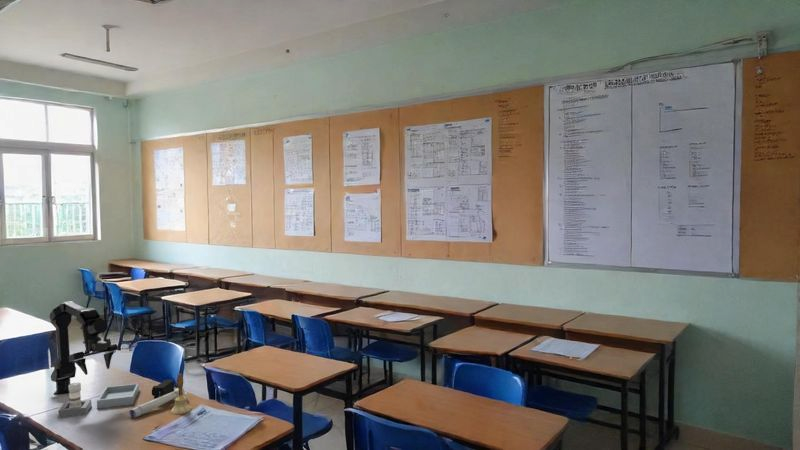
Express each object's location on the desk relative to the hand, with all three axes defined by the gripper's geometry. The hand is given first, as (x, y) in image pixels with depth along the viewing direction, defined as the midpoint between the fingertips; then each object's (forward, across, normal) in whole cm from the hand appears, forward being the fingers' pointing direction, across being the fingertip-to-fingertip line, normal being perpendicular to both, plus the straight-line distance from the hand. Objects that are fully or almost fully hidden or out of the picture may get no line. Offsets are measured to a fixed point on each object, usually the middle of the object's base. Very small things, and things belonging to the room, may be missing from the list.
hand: (97, 371), depth 227 cm
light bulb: (+14, -9, +6) cm, 18 cm away
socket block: (+14, -9, +6) cm, 18 cm away
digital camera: (+20, +21, -10) cm, 30 cm away
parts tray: (+14, +9, +5) cm, 18 cm away
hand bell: (+26, +17, -29) cm, 42 cm away
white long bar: (+23, +13, -20) cm, 33 cm away
